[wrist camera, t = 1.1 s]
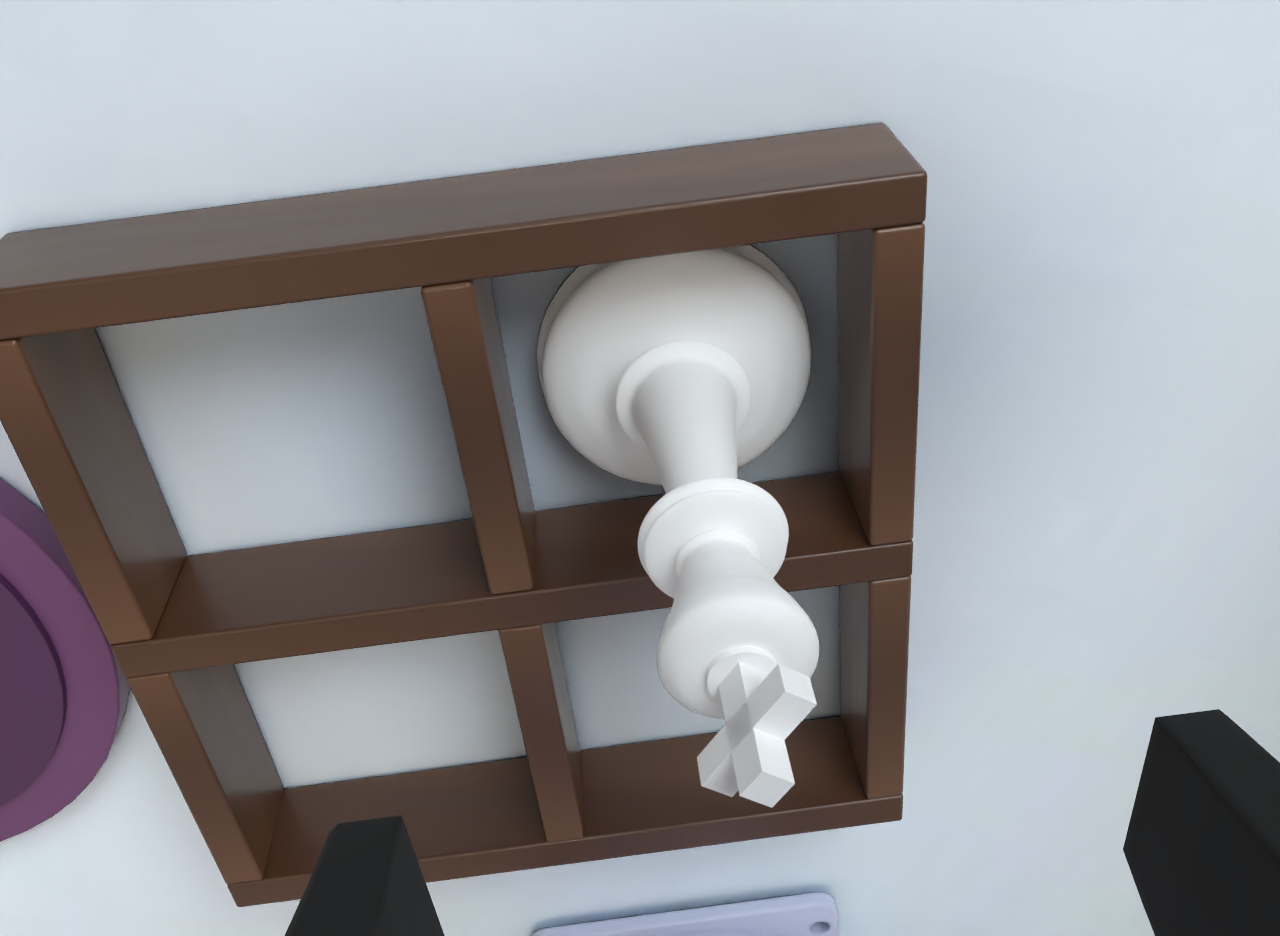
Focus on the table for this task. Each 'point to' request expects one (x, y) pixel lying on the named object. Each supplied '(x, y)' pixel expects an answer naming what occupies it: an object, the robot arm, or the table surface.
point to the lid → (48, 673)
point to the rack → (476, 498)
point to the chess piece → (699, 477)
